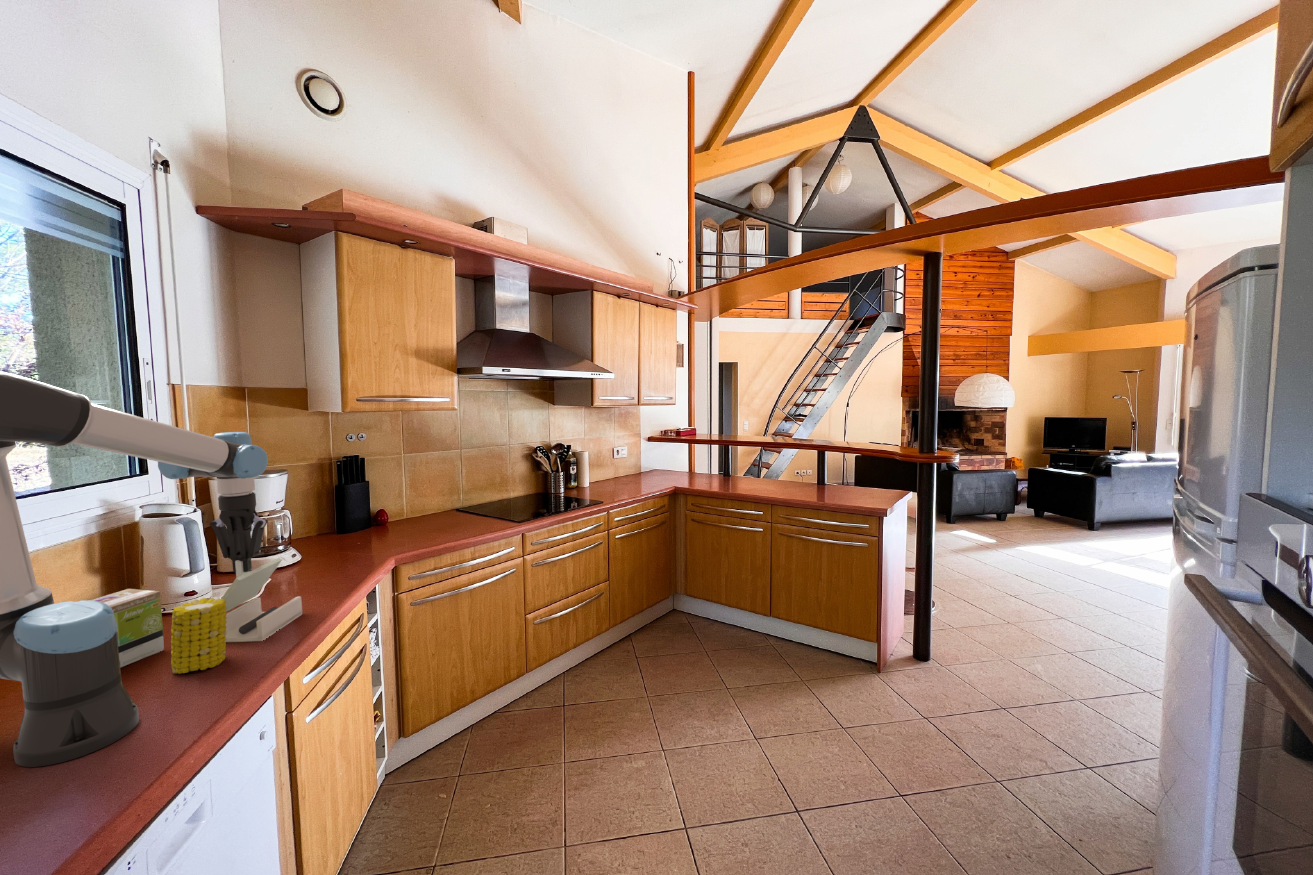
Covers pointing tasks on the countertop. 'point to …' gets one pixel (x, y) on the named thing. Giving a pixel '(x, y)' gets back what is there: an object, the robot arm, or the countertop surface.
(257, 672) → the countertop surface
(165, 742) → the countertop surface
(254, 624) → the dark grey rod
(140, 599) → the tea box
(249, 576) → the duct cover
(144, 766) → the countertop surface
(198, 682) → the countertop surface
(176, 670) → the food
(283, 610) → the cable duct
